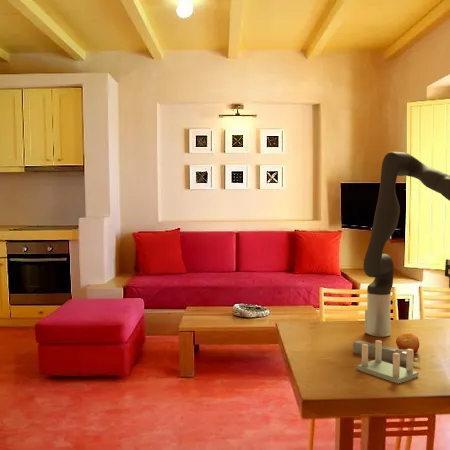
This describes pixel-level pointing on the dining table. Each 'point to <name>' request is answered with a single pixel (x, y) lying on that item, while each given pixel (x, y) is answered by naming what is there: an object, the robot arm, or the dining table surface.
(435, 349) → the dining table surface
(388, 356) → the ball-topped lever
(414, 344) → the fruit
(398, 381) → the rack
